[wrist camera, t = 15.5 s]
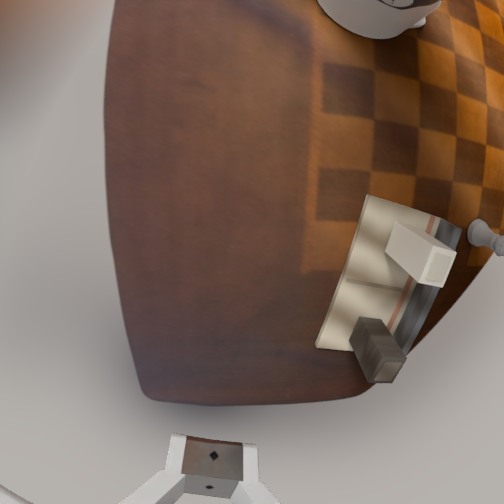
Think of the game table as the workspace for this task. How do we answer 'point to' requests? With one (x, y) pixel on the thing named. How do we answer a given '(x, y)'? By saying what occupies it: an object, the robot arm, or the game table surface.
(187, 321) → the game table surface
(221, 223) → the game table surface
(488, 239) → the rook chess piece
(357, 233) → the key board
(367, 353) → the ebony key
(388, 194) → the game table surface
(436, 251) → the ivory key
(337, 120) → the game table surface
